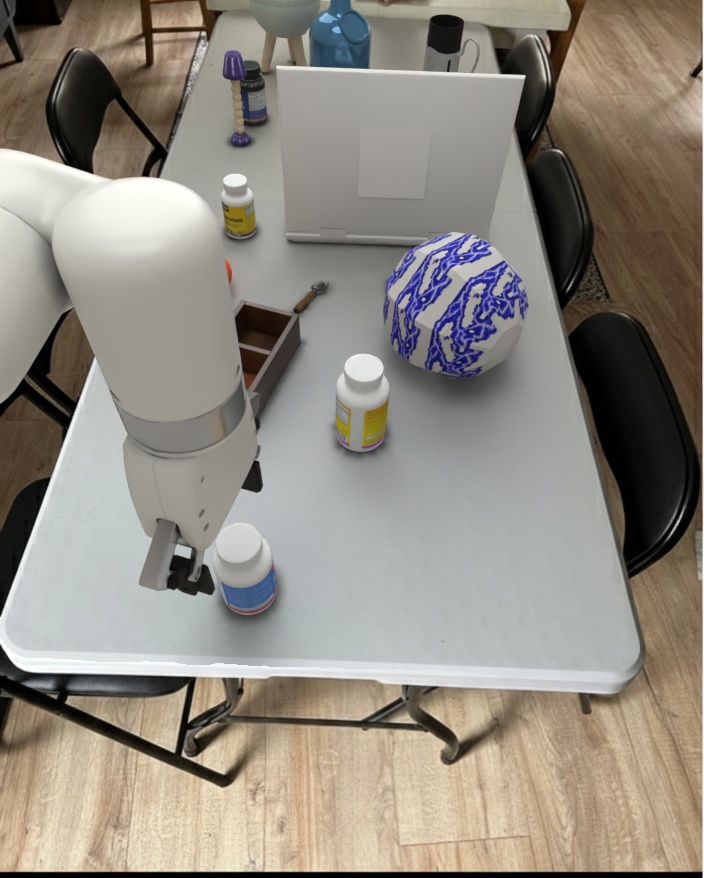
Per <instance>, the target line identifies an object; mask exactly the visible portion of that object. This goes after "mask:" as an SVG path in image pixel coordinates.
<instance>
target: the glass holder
mask: <svg viewBox="0 0 704 878" xmlns="http://www.w3.org/2000/svg"><path fill="white" fill-rule="evenodd" d="M464 27H465V20H464V19H463V18H462V17H460V16H458V15H454V14H446V13H445V14H443V13H442V14H435V15H432V16H431V17H429V23H428V32H427V34H426V35H427V36H426V41H425V51H424V60H423V68H422V71H428V72H454V73H459V72H458V71H459V67H460V58H461V57H463V55H464V54H465V52H466V51H465V50H466V46H467V44H468V42H469V41H472V42H473V43H474V44H475V46H476V50H477V51H476V57H475V60H474V64H473V66H472V69H471V70H470V71H469V73H474V72H475V70H476V68H477V65H478V63H479V59H480V55H481V48H480V47H481V45H480V42H479V41H478V40H477V39H476V38H474V37H469V38H467V39H465V41H464V42H463V45H462V40H463V36H464V35H463V34H464Z"/></svg>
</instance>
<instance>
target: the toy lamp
mask: <svg viewBox="0 0 704 878" xmlns="http://www.w3.org/2000/svg"><path fill="white" fill-rule="evenodd" d="M246 76H247V71H246V68H245V65H244V58H243V56H242V53H241V52H240V51H238V50H237V49H232V50H231V49H230V50H227V51H226V52H225V53H224V58H223V66H222V77H223V78H224V79H226V80H228V81H230V84H231V87H230V90H231V93H232V95H231V98H232V101H233V102H232V107H233V115H234V124H235V132H233V133H232V135H231V137H230V143H231V144H232V145H233V146H237V147H245V146H249V145H251V143H252V137H251V135H250V134H249V133H248V132H247V131H245V126H244V120H243V111H242V103H241V94H240V91H241V89H240V85H239V84H240V80H241V79H244V78H246Z"/></svg>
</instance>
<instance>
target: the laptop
mask: <svg viewBox="0 0 704 878" xmlns="http://www.w3.org/2000/svg"><path fill="white" fill-rule="evenodd" d="M275 70H276V87H277V89H276V90H277V102H278V103H277V105H278V118H279V119H278V120H279V134H280V135H279V137H280V138H279V139H280V153H281V170H282V171H281V172H282V184H283V185H282V186H283V198H284V199H283V202H284V216H285V217H284V218H285V219H284V220H285V238H286V239H287V240H289V241H292V242H297V243H324V244H325V243H327V244H355V245H382V246H383V245H384V246H385V245H387V246H412V247H413V246H415V247H417V246H419V245H421V244H423V243H425V242H427V241H428V240H430V239H432V238H435V237H439V236H442V235H445V234H448V233H452V232H457V233H464V234H471V235H476V236H477V237H479V238H480V239H482V240H484V241H485V242H487V243H488V237H489V234H490V229H491V225H492V220H493V216H494V212H495V208H496V203H497V198H498V195H499V190H500V186H501V182H502V179H503V174H504V170H505V165H506V161H507V156H508V152H509V148H510V144H511V140H512V136H513V131H514V127H515V123H516V118H517V114H518V110H519V106H520V102H521V97H522V93H523V89H524V84H525V81H526V75H525V74H507V73H506V74H503V73H502V74H501V73H477V72H476V73H475V72H473V73H470V72H457V73H454V72H428V71H423V70H401V69H400V70H399V69H377V68H376V69H373V68H370V69H350V68H324V67H310V66H307V67H298V66H297V65H295V66H294V65H293V66H292V65H276V66H275Z"/></svg>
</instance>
